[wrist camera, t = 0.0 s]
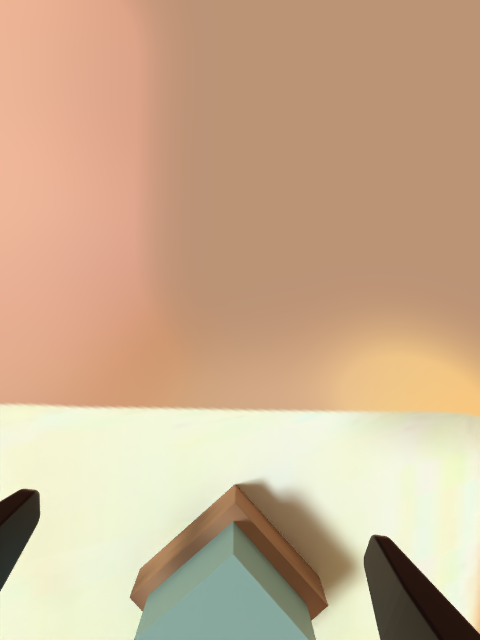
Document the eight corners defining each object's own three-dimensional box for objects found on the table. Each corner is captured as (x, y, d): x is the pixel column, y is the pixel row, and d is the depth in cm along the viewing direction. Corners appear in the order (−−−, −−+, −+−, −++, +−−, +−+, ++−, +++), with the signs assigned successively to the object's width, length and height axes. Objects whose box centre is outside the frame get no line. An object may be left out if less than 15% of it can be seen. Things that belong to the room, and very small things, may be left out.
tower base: (224, 651, 24) (223, 698, 22) (142, 562, 24) (129, 597, 21) (316, 570, 25) (327, 605, 22) (235, 480, 24) (235, 503, 21)
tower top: (222, 678, 21) (220, 737, 18) (148, 595, 21) (133, 641, 18) (306, 604, 21) (318, 650, 18) (233, 520, 21) (233, 554, 18)
